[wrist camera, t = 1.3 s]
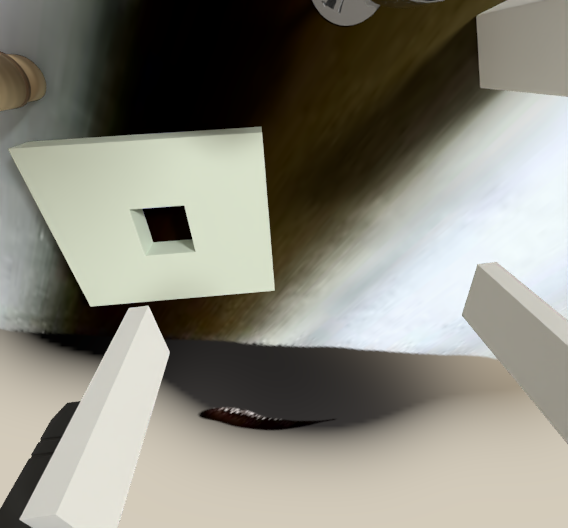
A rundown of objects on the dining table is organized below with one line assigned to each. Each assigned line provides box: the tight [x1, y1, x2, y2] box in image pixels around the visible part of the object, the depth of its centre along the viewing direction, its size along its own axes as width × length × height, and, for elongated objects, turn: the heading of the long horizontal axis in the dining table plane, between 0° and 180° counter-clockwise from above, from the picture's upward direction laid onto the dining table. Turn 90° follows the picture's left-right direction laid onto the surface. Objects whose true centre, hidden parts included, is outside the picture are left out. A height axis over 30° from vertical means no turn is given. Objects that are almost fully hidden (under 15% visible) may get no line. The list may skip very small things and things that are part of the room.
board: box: [8, 127, 275, 306], centre depth 33 cm, size 18×22×3 cm
